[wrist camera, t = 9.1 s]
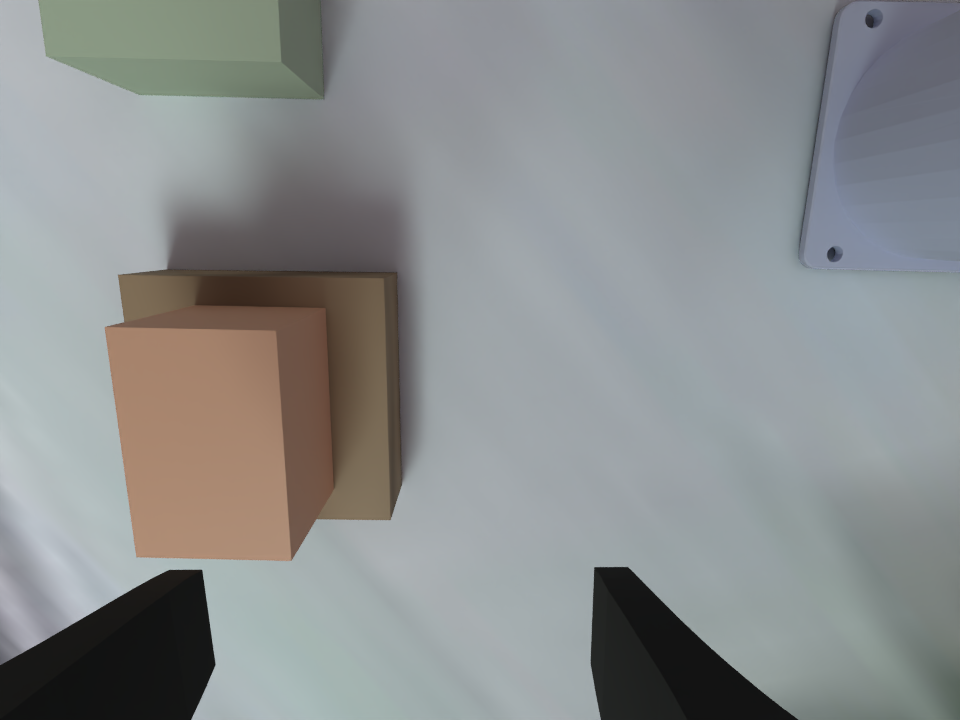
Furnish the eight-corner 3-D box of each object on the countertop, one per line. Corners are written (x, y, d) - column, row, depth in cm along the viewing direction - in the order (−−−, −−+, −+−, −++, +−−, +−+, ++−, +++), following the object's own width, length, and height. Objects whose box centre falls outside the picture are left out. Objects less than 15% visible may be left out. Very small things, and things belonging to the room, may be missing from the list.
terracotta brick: (333, 489, 18) (291, 560, 14) (212, 486, 18) (136, 557, 14) (325, 307, 17) (276, 330, 13) (194, 305, 17) (104, 327, 13)
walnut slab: (398, 271, 19) (383, 278, 16) (403, 480, 21) (390, 520, 18) (173, 268, 19) (118, 274, 16) (196, 477, 21) (150, 517, 18)
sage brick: (320, -39, 17) (271, -122, 13) (325, 100, 18) (281, 62, 14) (127, -44, 17) (21, -128, 13) (141, 95, 18) (46, 56, 14)
